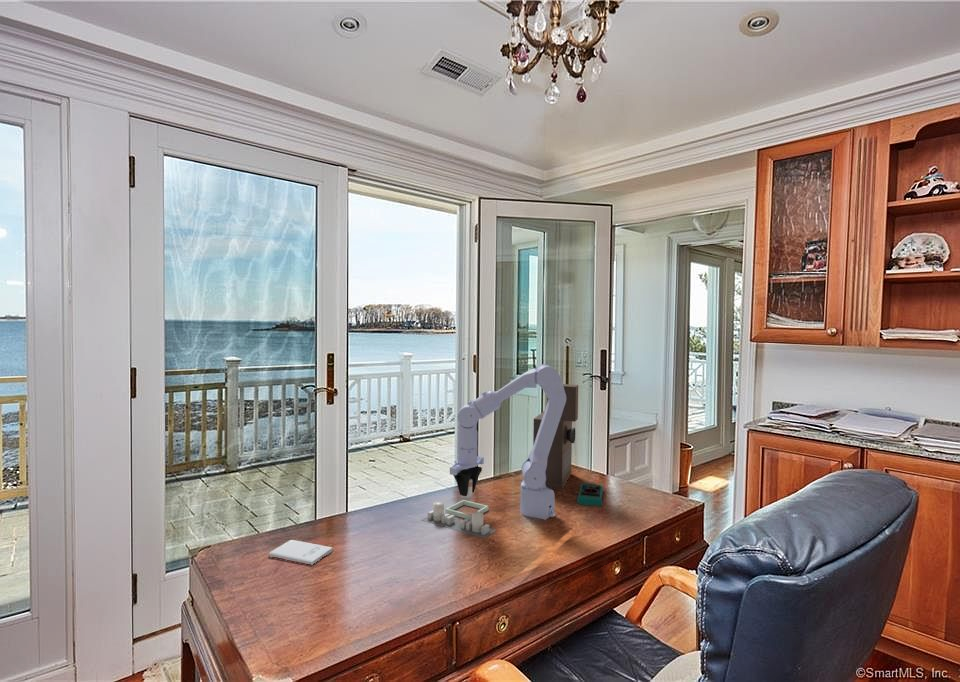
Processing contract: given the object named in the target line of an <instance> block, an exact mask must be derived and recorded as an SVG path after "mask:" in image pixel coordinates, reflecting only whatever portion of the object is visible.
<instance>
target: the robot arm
mask: <svg viewBox="0 0 960 682" xmlns="http://www.w3.org/2000/svg"><path fill="white" fill-rule="evenodd" d="M563 384H564V383H563V379H562V377H561V375H560V374H559V373H558V371H557V370H556V369H555V368H553V367H552V366H551V365H549V364H546V363H542V364H541V363H540V364H539V365H537V366H536V367H535V368H534V367H533V368H530V369H528V370H527V371H525V372H523V373H522V374H520V375H519V376H517V377H516V378H514V379H513V380H511V381H510V382H508V383H507V384H506V385H504V386H503V387H501V388H500V389H498V390H497V391H494V390H489V391H486V390H484V391H482V392H481V394H482V395H479V397H477V398H476V399H474V400H469V401H467V402H468V404H465V405H463V406H461V407H460V408H459V410H458V413H457V421H458V425H457V429H458V431H457V459H455V460H454V464H453V465H452V466H450V467H449V475H453V478H454V479H455V481H456V484H457V488H458V492H459V495H460V496H461V497H462V496H467V494H468V485H469V480H470V478H471V479H472V481H473V485H472V494H473V493H475V490H476V487H477V484H478V483H477V482H478V479H479V477H480V474H481V473H482V470H483V467H481V466H479V465H483V464H485V462H484V461H485V457H484V456H478V432H479V431H478V430H477V429H478V428H477V427H478V426H477V425H478V421H479V420H481V419H484V418H486V417H488V416H489V415H491V414H492V413H494V412H495V411H498V409H501V407H502V402H503V401H505V400H507V399H508V398H510V397H512V396H514V395H515V394H517V393H519V392H520V391H523V390H525V389H526V388H530V389H536V388H537V385H538V386H539V387H540V388H541V389H542V390H543V392H544V394H545V396H546V397H548V403H546V405H545V409H544V411H545V412H544V415H543V418H542V421H541V424H540V427H539V430H538V433H537V436H536V439H535V442H534V445H533V444H532V449H531V451H529V454H528V456H527V458H526V459H525V461H523V463H522V465H521V469H520V470H521V471H520V472H521V474H522V476H523V480H522V482H521V483H520V510H519V511H520V515H523V516H525V517H529V518H536V519H541V520H543V521H544V520H547V519H549V518H550V517H551V518H554V517H556V513H555V510H556V509H555V506H556V505H555V504H556V503H555V500H556V499H555V498H556V497H555V491H554V490H553V489H552V488H547V487H546V484H545V482H546V474H545V471H546V468H547V459H548V455H549V452H550V449H551V446H552V442H553V439H554V436H555V433H556V430H557V427H558V424H559V421H560V418H561V415H562V412H563V409H564V406H565V403H566V394H565V390H564V387H563Z"/></svg>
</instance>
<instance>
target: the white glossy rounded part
mask: <svg viewBox="0 0 960 682" xmlns="http://www.w3.org/2000/svg"><path fill="white" fill-rule="evenodd" d="M432 510H433V521H435V522H441V516H443V515H445V503H444V502H442V501H435V502H433V504H432Z"/></svg>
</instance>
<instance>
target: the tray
mask: <svg viewBox="0 0 960 682" xmlns="http://www.w3.org/2000/svg"><path fill="white" fill-rule="evenodd" d="M462 506H467V507H471V508H475V509H478V510H477V511H475V512H482V513H483V514H484V513H486V512H488V511H489V505H485V504H482V503H478V502H475V501H471V500H463V499H461V500H460V501H458V502H456V503H454V504H452V505H451V506H448V507H446V508H444V514H450V515H454V516H455V517H458V518H462V519H469V521H470V520H472V513H471V514H469V513H465V512H463V511H459V510H458V511H457V510H456V509H458V508H460V507H462Z"/></svg>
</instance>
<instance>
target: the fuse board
mask: <svg viewBox="0 0 960 682" xmlns="http://www.w3.org/2000/svg"><path fill="white" fill-rule="evenodd" d="M455 517H456V516H454V515H450V514H446V513H444V515H443V516H441V522H435V521H433V509H432V510H430V511H428V512H427V516H425V517H424V518H422V519H421V521H423V522H425V523H429V524H433V525H437V526H439V527H444V528H447V529H450V530H453V531H457V532H459V533H460V532H461V533H462V534H463V533H464V534H467V535H471V536H474V537H478V538H481V539H485V538H487V537H488V536H490V535H492V534H493V533H495V532H496V531H497V529H493V528H490V524H489V523H488V524H487V523H485V524H483V526H482V527H481V533H474V532H472V520H469V519H465V518H463V520H461V519H457V518H455Z"/></svg>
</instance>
